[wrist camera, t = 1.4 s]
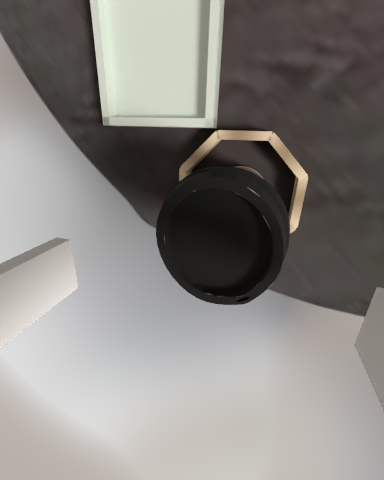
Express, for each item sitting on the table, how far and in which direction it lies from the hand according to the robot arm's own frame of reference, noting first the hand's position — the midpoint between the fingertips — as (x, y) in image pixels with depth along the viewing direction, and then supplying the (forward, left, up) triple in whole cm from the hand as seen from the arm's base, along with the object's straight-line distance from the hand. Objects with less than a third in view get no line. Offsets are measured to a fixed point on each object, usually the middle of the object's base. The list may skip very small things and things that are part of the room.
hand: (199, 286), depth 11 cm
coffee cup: (0, 0, -19) cm, 19 cm away
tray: (-13, -9, -19) cm, 24 cm away
